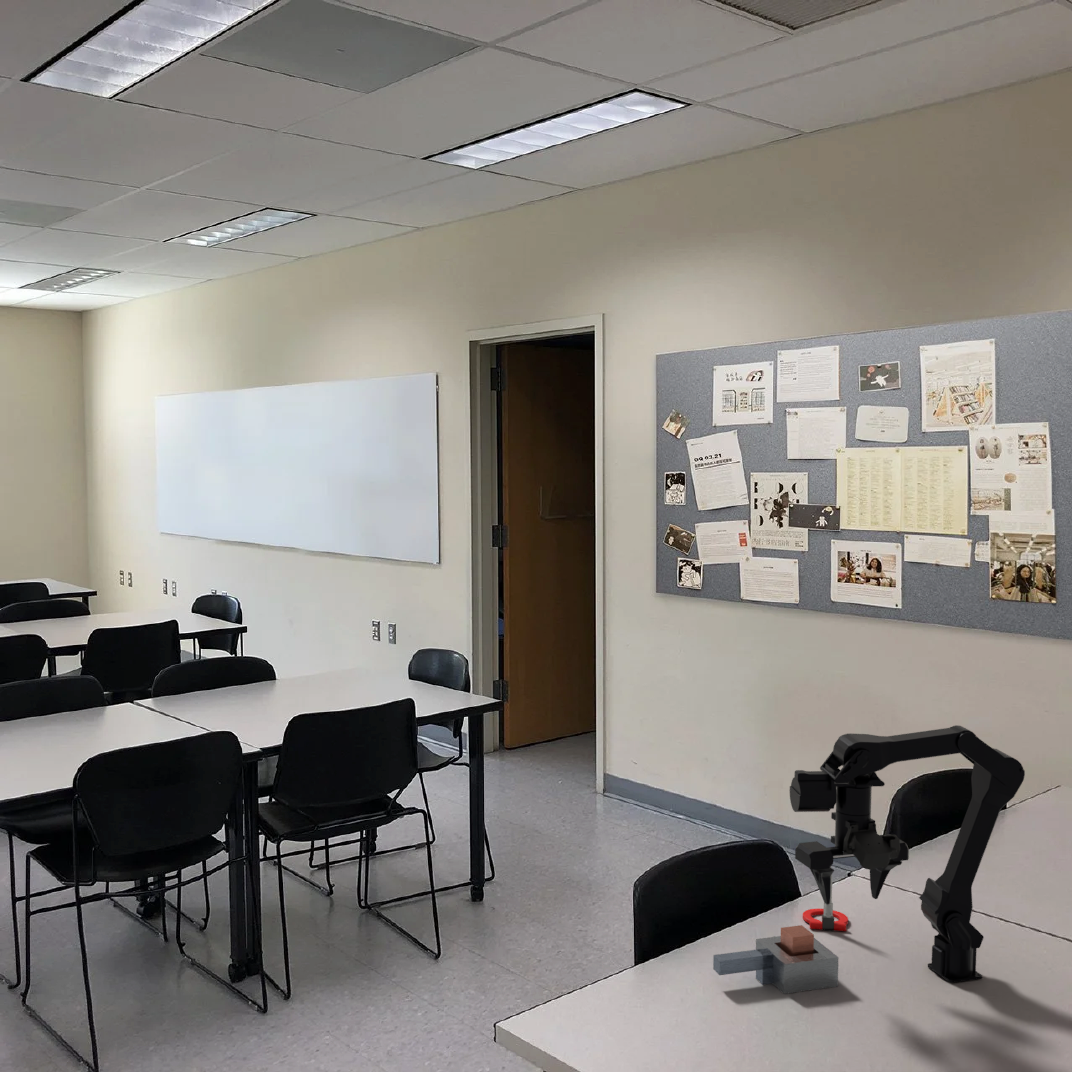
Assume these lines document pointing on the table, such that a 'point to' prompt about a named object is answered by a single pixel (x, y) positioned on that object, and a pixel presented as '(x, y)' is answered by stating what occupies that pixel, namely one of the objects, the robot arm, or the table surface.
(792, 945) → the square peg
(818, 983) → the square frame with handle
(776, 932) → the table surface
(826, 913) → the tow hook
